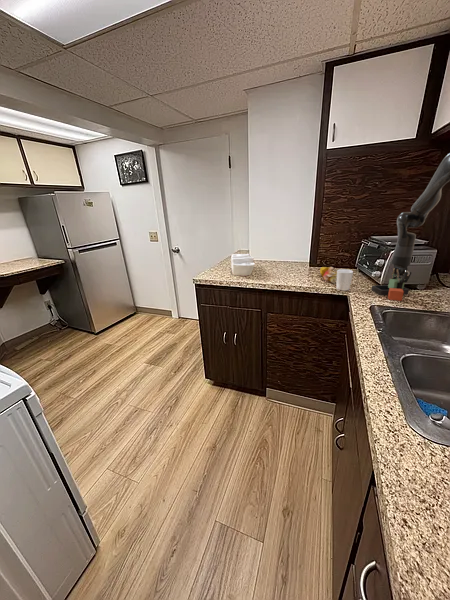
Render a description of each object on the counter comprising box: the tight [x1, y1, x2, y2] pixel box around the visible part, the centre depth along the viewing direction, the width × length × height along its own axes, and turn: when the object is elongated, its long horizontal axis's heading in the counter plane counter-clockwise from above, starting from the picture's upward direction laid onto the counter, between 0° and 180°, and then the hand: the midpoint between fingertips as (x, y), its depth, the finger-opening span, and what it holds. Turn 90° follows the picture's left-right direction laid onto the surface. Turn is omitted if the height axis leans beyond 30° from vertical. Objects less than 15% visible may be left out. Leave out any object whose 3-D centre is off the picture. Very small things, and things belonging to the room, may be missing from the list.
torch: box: [319, 266, 337, 285], centre depth 152 cm, size 8×8×25 cm
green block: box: [387, 278, 406, 289], centre depth 126 cm, size 5×4×5 cm
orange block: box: [387, 288, 404, 302], centre depth 118 cm, size 5×4×5 cm
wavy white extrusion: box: [230, 253, 256, 276], centre depth 179 cm, size 35×16×10 cm, turn 178°
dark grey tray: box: [370, 284, 410, 296], centre depth 127 cm, size 14×8×2 cm, turn 91°
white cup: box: [335, 268, 354, 292], centre depth 133 cm, size 8×8×10 cm
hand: (395, 288), depth 127 cm, fingers closed on green block, 4 cm apart
